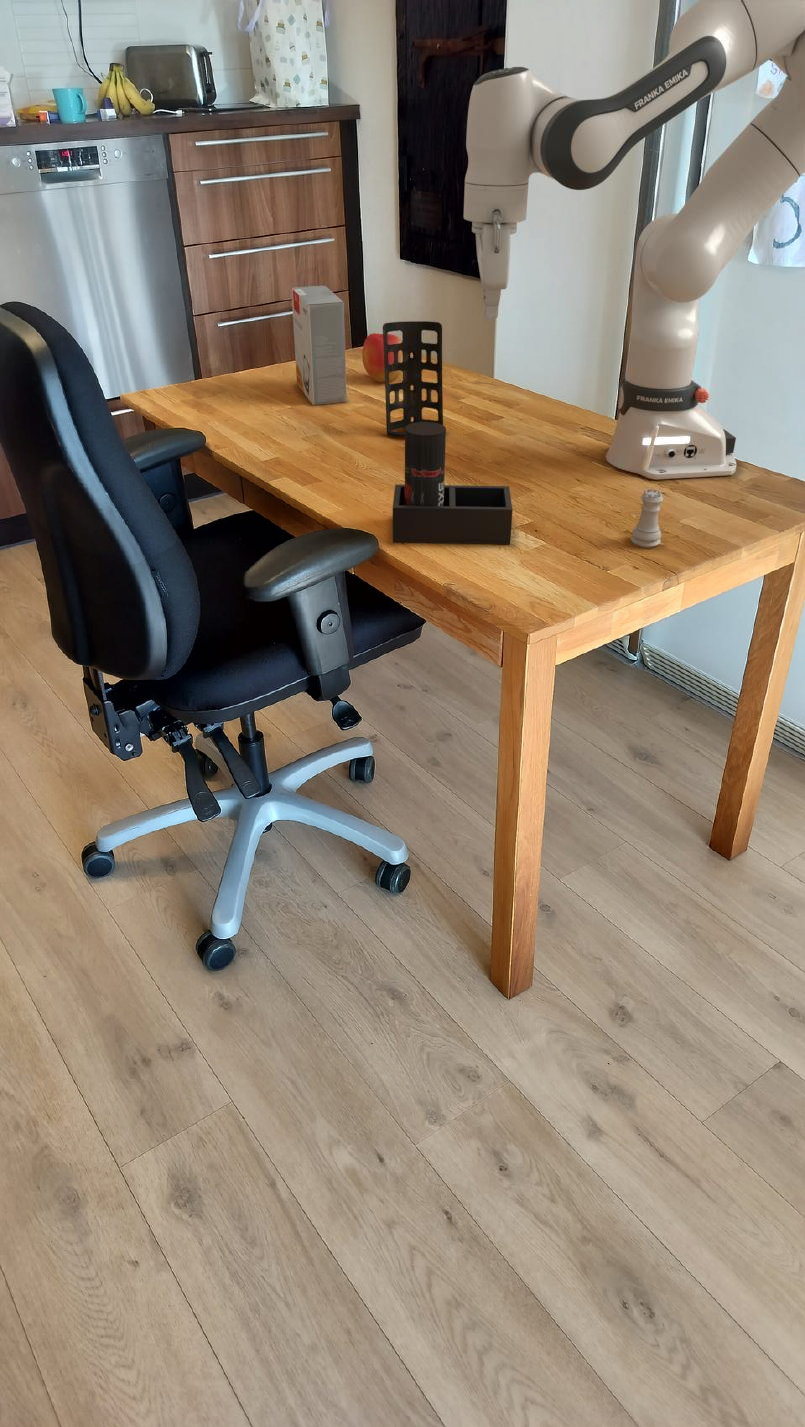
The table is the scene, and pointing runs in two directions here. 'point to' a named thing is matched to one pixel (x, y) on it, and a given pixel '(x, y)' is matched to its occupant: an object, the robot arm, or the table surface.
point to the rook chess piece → (648, 521)
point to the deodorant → (425, 464)
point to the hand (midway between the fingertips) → (490, 310)
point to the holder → (412, 373)
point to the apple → (379, 356)
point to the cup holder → (456, 517)
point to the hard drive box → (319, 344)
